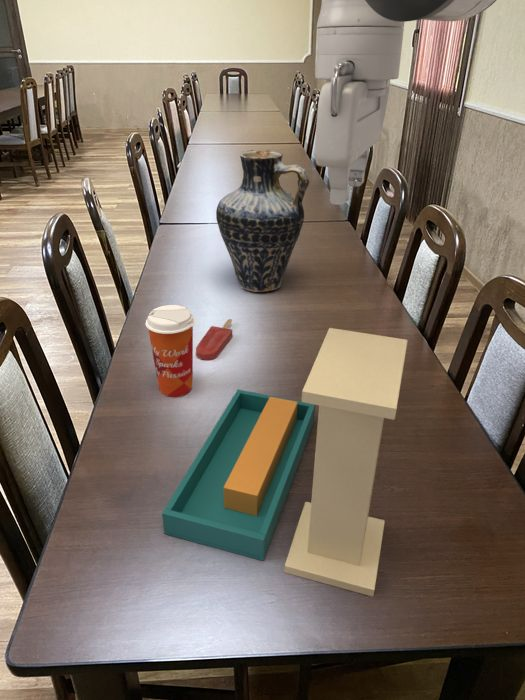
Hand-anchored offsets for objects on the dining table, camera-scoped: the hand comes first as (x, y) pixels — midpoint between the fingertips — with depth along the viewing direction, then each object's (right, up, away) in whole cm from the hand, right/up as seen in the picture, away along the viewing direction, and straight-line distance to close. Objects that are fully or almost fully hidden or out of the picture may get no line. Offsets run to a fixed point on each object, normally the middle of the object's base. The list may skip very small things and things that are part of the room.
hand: (347, 194), depth 63 cm
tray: (-12, -35, +11) cm, 39 cm away
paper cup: (-25, -25, +28) cm, 45 cm away
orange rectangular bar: (-10, -34, +12) cm, 37 cm away
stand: (-1, -42, 0) cm, 42 cm away
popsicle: (-19, -17, +42) cm, 49 cm away
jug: (-10, -3, +65) cm, 66 cm away
